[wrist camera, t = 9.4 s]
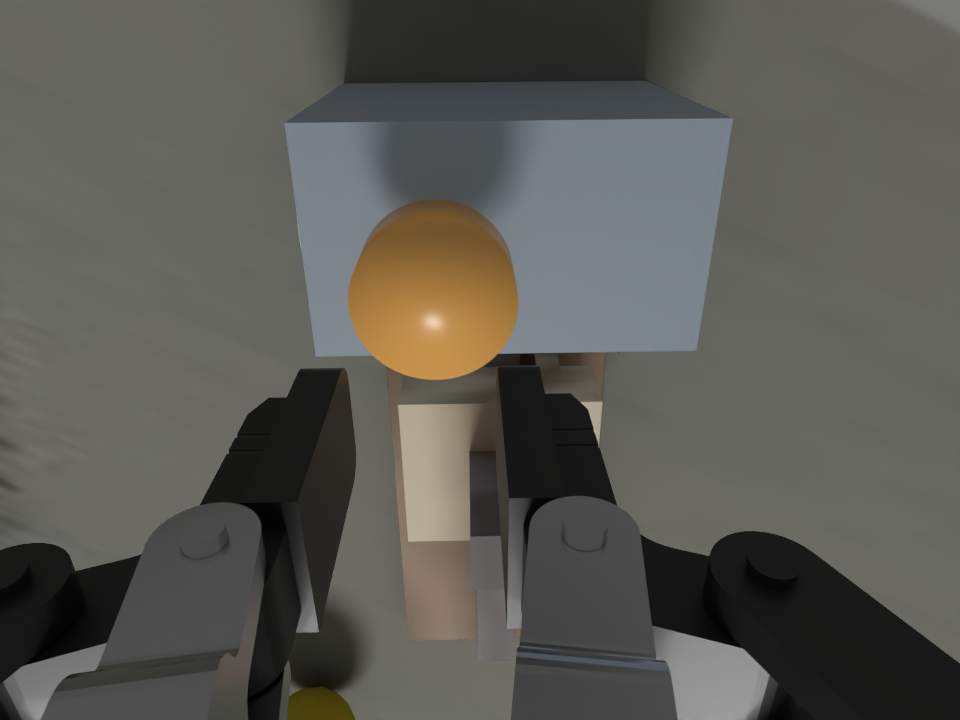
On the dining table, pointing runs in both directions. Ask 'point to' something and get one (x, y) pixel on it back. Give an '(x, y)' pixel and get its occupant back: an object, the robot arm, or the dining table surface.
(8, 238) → the dining table surface
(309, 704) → the lemon
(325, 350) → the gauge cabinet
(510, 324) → the button
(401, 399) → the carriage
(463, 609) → the rail
